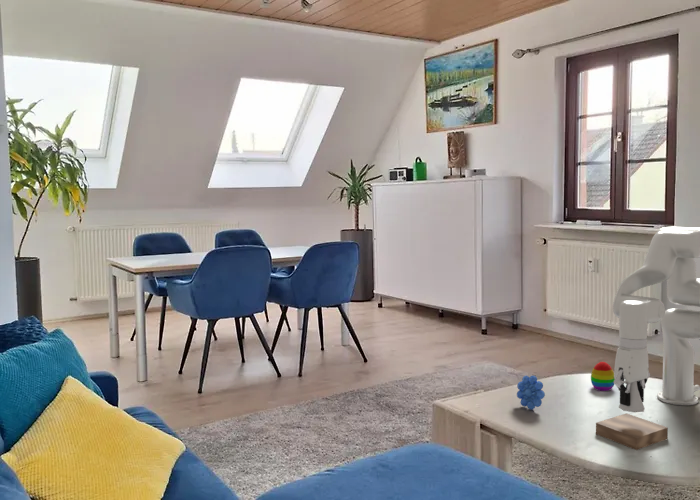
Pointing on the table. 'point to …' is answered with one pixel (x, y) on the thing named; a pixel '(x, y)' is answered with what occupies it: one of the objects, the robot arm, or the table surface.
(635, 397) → the flask
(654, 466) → the table surface
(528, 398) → the grapes
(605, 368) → the decorative egg
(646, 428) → the flat wooden block
